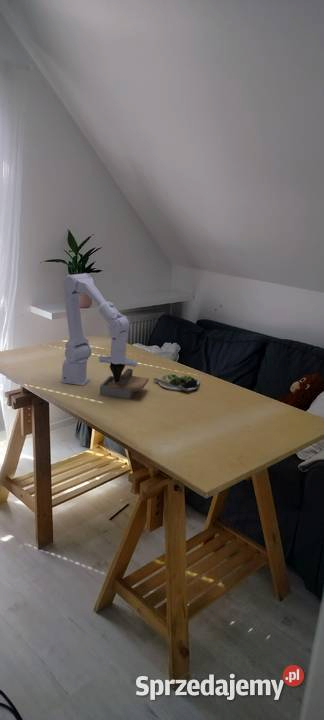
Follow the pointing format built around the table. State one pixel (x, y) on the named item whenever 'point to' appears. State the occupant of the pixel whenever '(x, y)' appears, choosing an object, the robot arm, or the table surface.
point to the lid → (130, 381)
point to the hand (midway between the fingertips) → (116, 381)
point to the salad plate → (179, 383)
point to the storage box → (114, 390)
